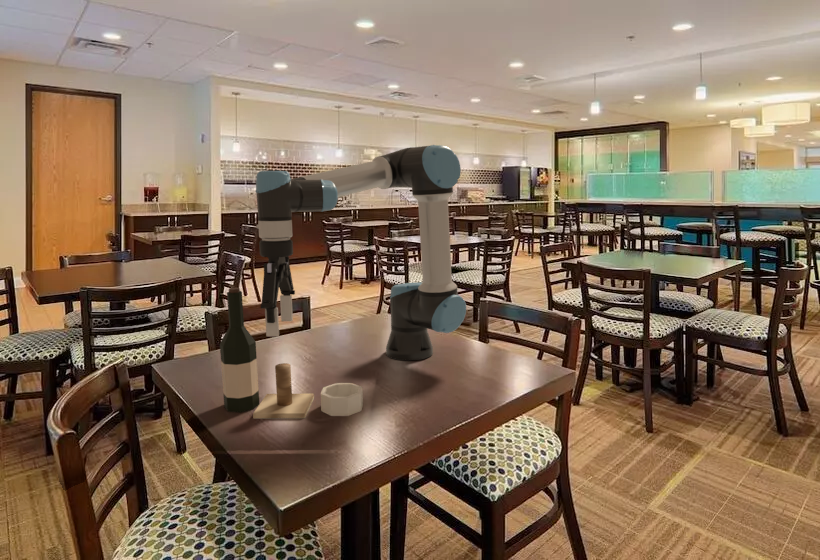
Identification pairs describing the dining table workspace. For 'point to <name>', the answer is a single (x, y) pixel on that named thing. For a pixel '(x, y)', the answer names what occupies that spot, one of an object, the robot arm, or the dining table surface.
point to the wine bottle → (238, 360)
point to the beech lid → (284, 398)
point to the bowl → (341, 399)
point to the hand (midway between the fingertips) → (280, 328)
